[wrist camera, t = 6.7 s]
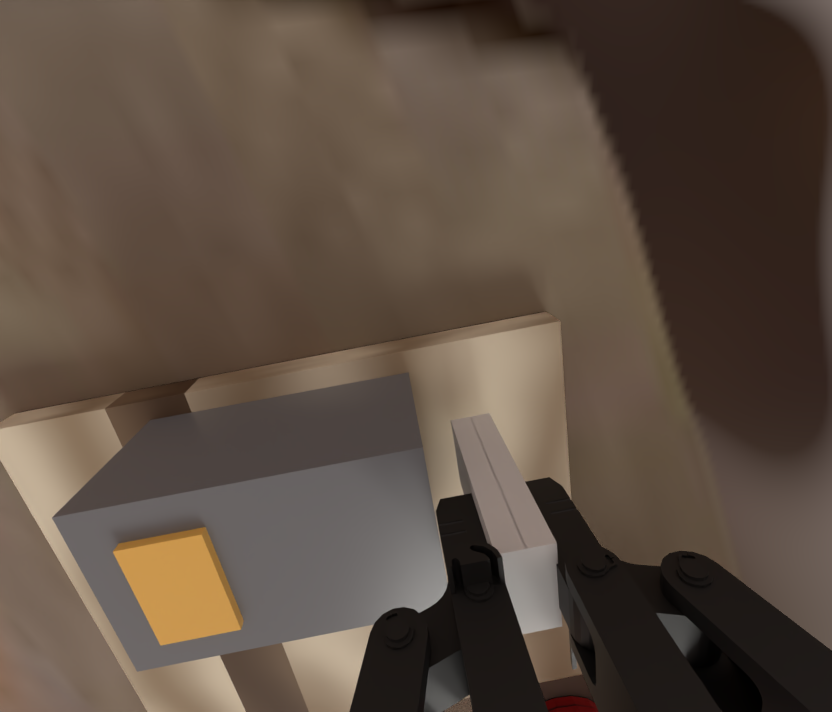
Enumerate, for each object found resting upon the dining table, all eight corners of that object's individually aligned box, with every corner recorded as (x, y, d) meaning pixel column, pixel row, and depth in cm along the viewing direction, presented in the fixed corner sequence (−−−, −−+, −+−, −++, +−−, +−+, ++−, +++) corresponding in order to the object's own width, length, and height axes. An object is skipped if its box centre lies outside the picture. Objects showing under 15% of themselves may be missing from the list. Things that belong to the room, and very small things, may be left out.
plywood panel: (546, 311, 18) (560, 321, 17) (570, 647, 25) (581, 673, 24) (14, 413, 18) (-16, 432, 17) (187, 727, 25) (175, 759, 23)
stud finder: (408, 372, 17) (423, 453, 12) (431, 498, 19) (453, 617, 14) (150, 420, 17) (43, 525, 12) (201, 542, 19) (131, 682, 14)
